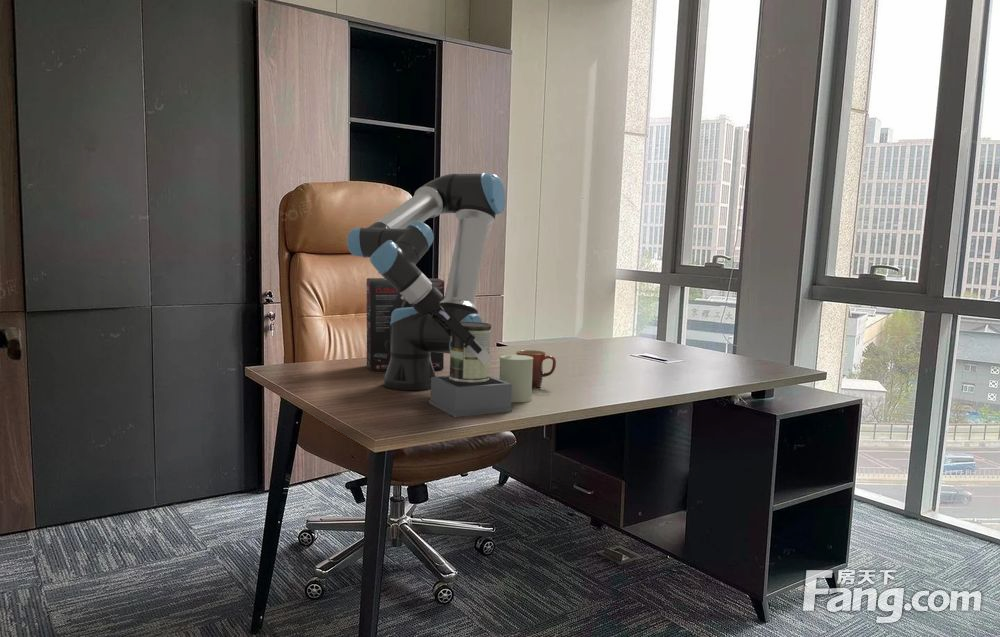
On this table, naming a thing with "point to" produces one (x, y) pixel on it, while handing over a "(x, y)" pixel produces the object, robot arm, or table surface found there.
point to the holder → (470, 396)
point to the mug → (538, 365)
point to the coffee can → (469, 355)
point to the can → (517, 376)
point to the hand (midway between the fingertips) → (481, 357)
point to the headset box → (387, 322)
